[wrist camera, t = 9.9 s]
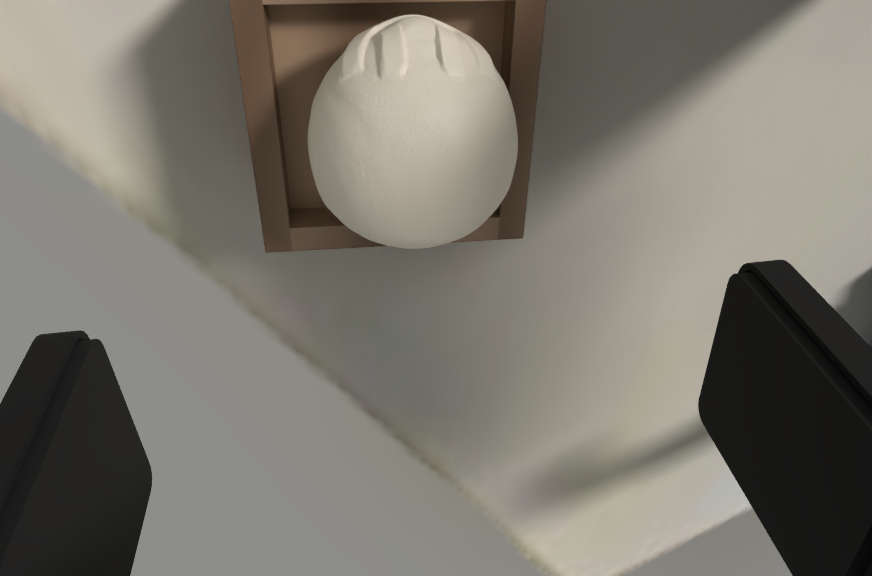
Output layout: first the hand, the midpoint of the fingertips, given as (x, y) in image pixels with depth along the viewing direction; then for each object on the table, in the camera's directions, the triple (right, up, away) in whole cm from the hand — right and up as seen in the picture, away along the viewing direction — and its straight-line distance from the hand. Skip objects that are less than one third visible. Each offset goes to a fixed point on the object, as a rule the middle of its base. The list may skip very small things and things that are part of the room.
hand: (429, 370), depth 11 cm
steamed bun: (-1, +8, +15) cm, 17 cm away
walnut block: (-2, +11, +19) cm, 22 cm away
